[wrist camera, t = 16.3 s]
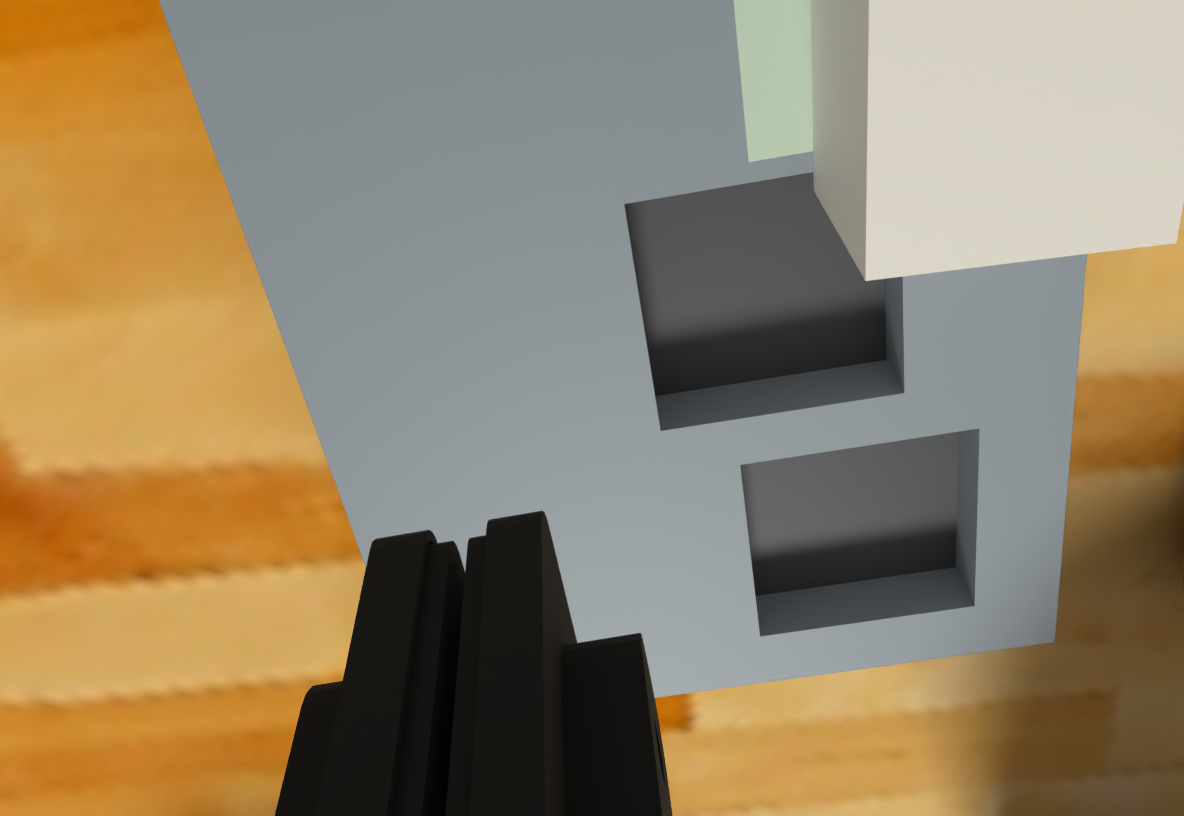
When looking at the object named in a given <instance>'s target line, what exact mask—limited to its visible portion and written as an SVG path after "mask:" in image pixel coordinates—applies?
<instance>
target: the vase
mask: <svg viewBox="0 0 1184 816" xmlns="http://www.w3.org/2000/svg"><path fill="white" fill-rule="evenodd" d="M1182 576H1183V586H1184V552H1183V557H1182Z"/></svg>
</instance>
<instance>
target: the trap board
mask: <svg viewBox="0 0 1184 816" xmlns="http://www.w3.org/2000/svg"><path fill="white" fill-rule="evenodd" d="M159 2H160V5H161V8H162V11H163V13H164V16H165V19H166V21H167V24H168V27H169V30H170V32H171V35H172V38H173V41H174V43H175V46H176V49H177V52H178V54H179V57H180V60H181V62H182V65H183V68H184V71H185V73H186V76H187V79H188V82H189V84H190V87H191V90H192V93H193V95H194V98H195V101H196V104H197V106H198V109H199V112H200V114H201V117H202V120H203V123H204V125H205V128H206V131H207V134H208V136H209V139H210V142H211V145H212V147H213V150H214V153H215V155H216V158H217V161H218V164H219V166H220V169H221V172H222V175H223V177H224V180H225V183H226V186H227V188H228V191H229V194H230V197H231V199H232V202H233V205H234V207H235V210H236V213H237V216H238V218H239V221H240V224H241V227H242V229H243V232H244V235H245V238H246V240H247V243H248V246H249V248H250V251H251V254H252V257H253V259H254V262H255V265H256V268H257V270H258V273H259V276H260V279H261V281H262V284H263V287H264V290H265V292H266V295H267V298H268V300H269V303H270V306H271V309H272V311H273V314H274V317H275V320H276V322H277V325H278V328H279V331H280V333H281V336H282V339H283V341H284V344H285V347H286V350H287V352H288V355H289V358H290V361H291V363H292V366H293V369H294V372H295V374H296V377H297V380H298V383H299V385H300V388H301V391H302V393H303V396H304V399H305V402H306V404H307V407H308V410H309V413H310V415H311V418H312V421H313V424H314V426H315V429H316V432H317V434H318V437H319V440H320V443H321V445H322V448H323V451H324V454H325V456H326V459H327V462H328V465H329V467H330V470H331V473H332V476H333V478H334V481H335V484H336V486H337V489H338V492H339V495H340V497H341V500H342V503H343V506H344V508H345V511H346V514H347V517H348V519H349V522H350V525H351V527H352V530H353V533H354V536H355V538H356V541H357V544H358V547H359V549H360V552H361V555H362V558H363V560H364V563H365V566H367V561H368V556H369V551H370V547H371V544H372V541H374V540H375V539H377V538H383V537H389V536H395V535H401V534H407V533H413V532H419V531H424V530H430V531H432V532H433V534H434V535H435V537H436V540H437V542H438V543H442V542H448V541H454V542H455V544H456V545H457V548H458V550H459V553H460V557H461V560H462V563H463V567H464V570H465V569H466V557H467V545H468V540H469V538H472V537H478V536H484V535H486V528H487V522H488V520H490V519H496V518H502V517H508V516H514V515H519V514H525V513H531V512H537V511H544V512H545V515H546V517H547V521H548V524H549V528H550V532H551V536H552V540H553V545H554V549H555V553H556V557H557V561H558V565H559V569H560V573H561V578H562V582H563V586H564V590H565V594H566V598H567V602H568V606H569V610H570V615H571V619H572V623H573V627H574V631H575V635H576V639H577V643H580V642H586V641H592V640H599V639H605V638H611V637H617V636H623V635H629V634H636V633H641V634H642V638H643V642H644V647H645V652H646V657H647V662H648V667H649V672H650V677H651V682H652V687H653V692H654V698H657V697H665V696H672V695H679V694H686V693H693V692H701V691H708V690H715V689H722V688H729V687H737V686H744V685H751V684H758V683H765V682H772V681H780V680H787V679H794V678H801V677H808V676H816V675H823V674H830V673H837V672H844V671H852V670H859V669H866V668H873V667H880V666H887V665H895V664H902V663H909V662H916V661H923V660H931V659H938V658H945V657H952V656H959V655H967V654H974V653H981V652H988V651H995V650H1002V649H1010V648H1017V647H1024V646H1031V645H1038V644H1046V643H1053V642H1055V632H1056V620H1057V608H1058V596H1059V584H1060V572H1061V560H1062V548H1063V536H1064V524H1065V512H1066V500H1067V488H1068V476H1069V464H1070V452H1071V440H1072V428H1073V416H1074V404H1075V392H1076V380H1077V368H1078V356H1079V344H1080V332H1081V319H1082V307H1083V295H1084V283H1085V271H1086V259H1087V254H1082V255H1074V256H1065V257H1057V258H1049V259H1041V260H1033V261H1025V262H1017V263H1009V264H1000V265H992V266H984V267H976V268H968V269H960V270H952V271H943V272H935V273H927V274H919V275H911V276H903V277H895V278H887V279H878V280H870V281H865V279H864V278H863V276H862V274H861V272H860V271H859V269H858V267H857V265H856V264H855V262H854V260H853V258H852V257H851V255H850V253H849V251H848V250H847V248H846V246H845V244H844V243H843V241H842V239H841V237H840V236H839V234H838V232H837V230H836V229H835V227H834V225H833V223H832V222H831V220H830V218H829V216H828V215H827V213H826V211H825V209H824V208H823V206H822V204H821V202H820V201H819V199H818V197H817V196H816V194H815V192H814V177H813V108H812V39H811V0H159Z"/></svg>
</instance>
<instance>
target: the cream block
mask: <svg viewBox="0 0 1184 816" xmlns="http://www.w3.org/2000/svg"><path fill="white" fill-rule="evenodd" d="M811 39H812V108H813V177H814V192H815V194H816V196H817V197H818V199H819V201H820V202H821V204H822V206H823V208H824V209H825V211H826V213H827V215H828V216H829V218H830V220H831V222H832V223H833V225H834V227H835V229H836V230H837V232H838V234H839V236H840V237H841V239H842V241H843V243H844V244H845V246H846V248H847V250H848V251H849V253H850V255H851V257H852V258H853V260H854V262H855V264H856V265H857V267H858V269H859V271H860V272H861V274H862V276H863V278H864V279H865V281H870V280H878V279H887V278H895V277H903V276H911V275H919V274H927V273H935V272H943V271H952V270H960V269H968V268H976V267H984V266H992V265H1000V264H1009V263H1017V262H1025V261H1033V260H1041V259H1049V258H1057V257H1065V256H1074V255H1082V254H1090V253H1098V252H1106V251H1114V250H1122V249H1130V248H1139V247H1147V246H1155V245H1163V244H1171V243H1176V242H1177V236H1178V231H1179V225H1180V219H1181V214H1182V208H1183V202H1184V0H811Z"/></svg>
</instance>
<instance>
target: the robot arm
mask: <svg viewBox="0 0 1184 816" xmlns="http://www.w3.org/2000/svg"><path fill="white" fill-rule="evenodd" d="M275 816H672V809H671V802H670V794H669V787H668V779H667V772H666V765H665V758H664V752H663V745H662V739H661V732H660V726H659V720H658V714H657V709H656V703H655V698H654V692H653V687H652V682H651V677H650V672H649V667H648V662H647V657H646V652H645V647H644V642H643V638H642V634H641V633H636V634H629V635H623V636H617V637H611V638H605V639H599V640H592V641H586V642H580V643H577V639H576V635H575V631H574V627H573V623H572V619H571V615H570V610H569V606H568V602H567V598H566V594H565V590H564V586H563V582H562V578H561V573H560V569H559V565H558V561H557V557H556V553H555V549H554V545H553V540H552V536H551V532H550V528H549V524H548V521H547V517H546V515H545V512H544V511H537V512H531V513H525V514H519V515H514V516H508V517H502V518H496V519H490V520H488V522H487V528H486V535H484V536H478V537H472V538H469V540H468V545H467V557H466V569H465V570H464V567H463V563H462V560H461V557H460V553H459V550H458V548H457V545H456V544H455V542H454V541H448V542H442V543H438V542H437V540H436V537H435V535H434V534H433V532H432V531H430V530H424V531H419V532H413V533H407V534H401V535H395V536H389V537H383V538H377V539H375V540H374V541H372V544H371V547H370V551H369V556H368V561H367V566H366V571H365V576H364V580H363V585H362V590H361V595H360V600H359V605H358V610H357V614H356V619H355V624H354V629H353V634H352V639H351V644H350V649H349V653H348V658H347V663H346V668H345V673H344V678H343V681H340V682H334V683H327V684H321V685H315V686H312V687H311V688H310V689H309V691H308V692H307V693H306V695H305V698H304V701H303V704H302V706H301V710H300V714H299V718H298V723H297V727H296V731H295V735H294V739H293V743H292V747H291V751H290V755H289V759H288V764H287V768H286V772H285V776H284V780H283V784H282V788H281V792H280V796H279V800H278V805H277V809H276V813H275Z"/></svg>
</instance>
